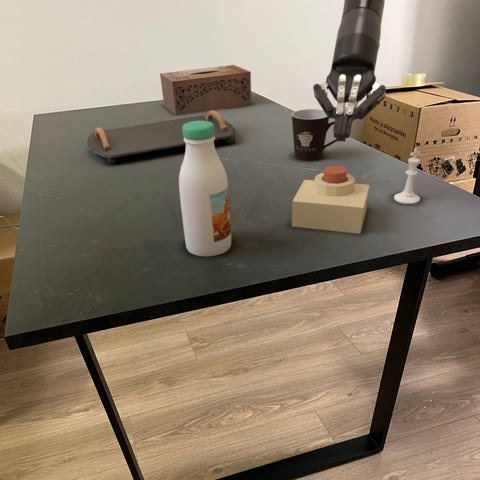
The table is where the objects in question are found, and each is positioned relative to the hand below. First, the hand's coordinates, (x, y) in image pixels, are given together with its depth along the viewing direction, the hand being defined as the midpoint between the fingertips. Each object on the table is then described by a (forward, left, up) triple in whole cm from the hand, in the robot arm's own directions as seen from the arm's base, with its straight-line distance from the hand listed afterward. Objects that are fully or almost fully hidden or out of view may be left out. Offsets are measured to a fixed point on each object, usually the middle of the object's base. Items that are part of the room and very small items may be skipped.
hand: (340, 139), depth 81 cm
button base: (0, +4, -13) cm, 14 cm away
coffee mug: (+9, -27, -13) cm, 31 cm away
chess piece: (-13, -7, -13) cm, 20 cm away
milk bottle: (+18, +19, -13) cm, 30 cm away
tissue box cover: (+53, -71, -13) cm, 90 cm away
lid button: (0, +2, -7) cm, 7 cm away
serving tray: (+50, -31, -13) cm, 60 cm away
